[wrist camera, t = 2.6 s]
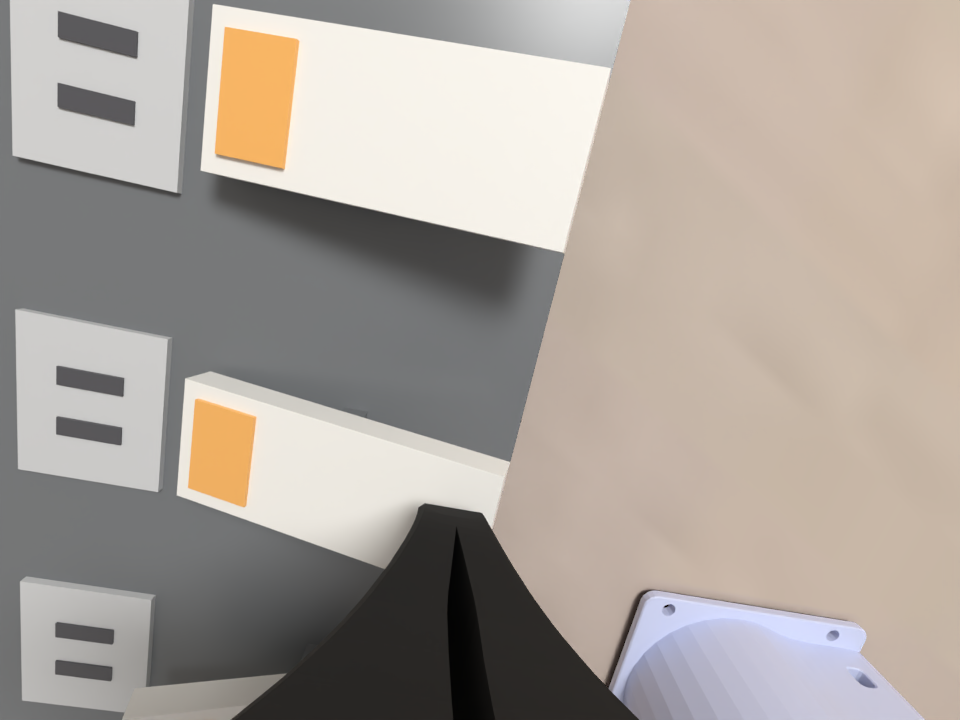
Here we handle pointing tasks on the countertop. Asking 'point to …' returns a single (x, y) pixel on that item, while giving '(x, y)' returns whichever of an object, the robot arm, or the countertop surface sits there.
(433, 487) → the rocker middle
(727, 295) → the countertop surface
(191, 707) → the rocker
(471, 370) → the power strip
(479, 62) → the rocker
